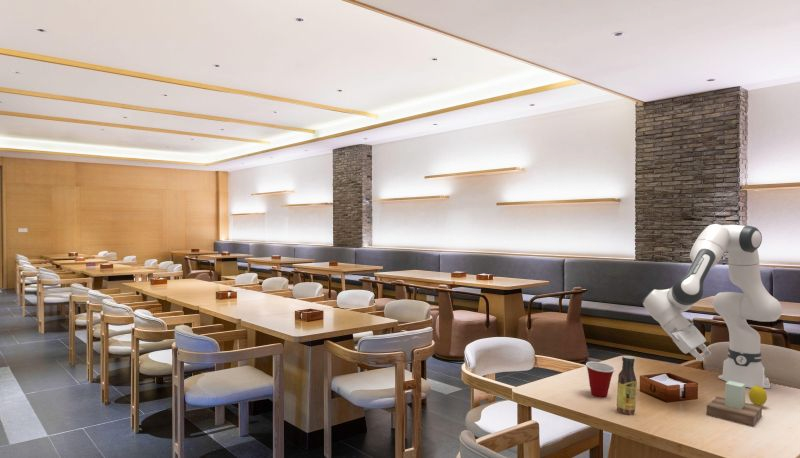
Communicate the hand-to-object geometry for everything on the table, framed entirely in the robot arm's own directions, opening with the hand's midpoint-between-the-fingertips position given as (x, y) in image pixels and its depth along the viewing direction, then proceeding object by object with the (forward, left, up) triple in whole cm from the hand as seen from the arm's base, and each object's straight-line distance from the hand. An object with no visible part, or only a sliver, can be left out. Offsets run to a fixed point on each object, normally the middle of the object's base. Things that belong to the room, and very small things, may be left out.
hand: (706, 357), depth 187 cm
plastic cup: (+16, -33, -19) cm, 41 cm away
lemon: (-18, +13, -19) cm, 29 cm away
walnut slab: (0, +9, -19) cm, 22 cm away
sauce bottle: (+26, -19, -19) cm, 37 cm away
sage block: (0, +9, -15) cm, 18 cm away
